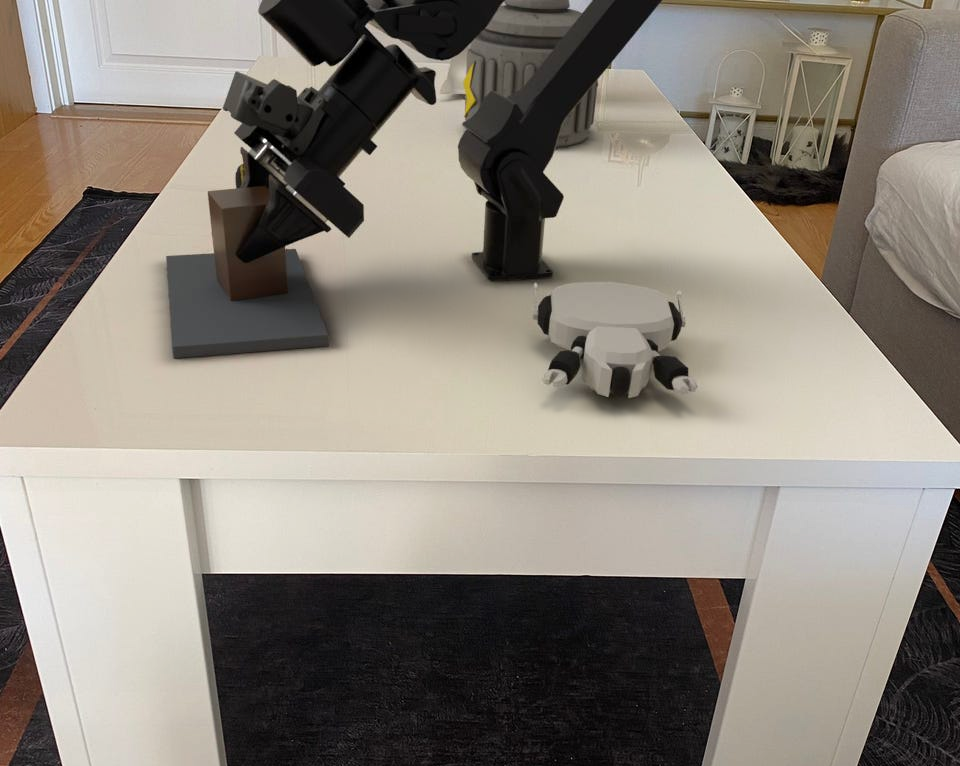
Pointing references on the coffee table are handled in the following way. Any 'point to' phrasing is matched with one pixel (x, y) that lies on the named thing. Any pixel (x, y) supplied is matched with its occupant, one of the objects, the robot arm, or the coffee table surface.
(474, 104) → the grey ribbed canister
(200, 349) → the grey mat
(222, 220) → the walnut block
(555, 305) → the robot toy
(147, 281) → the coffee table surface
